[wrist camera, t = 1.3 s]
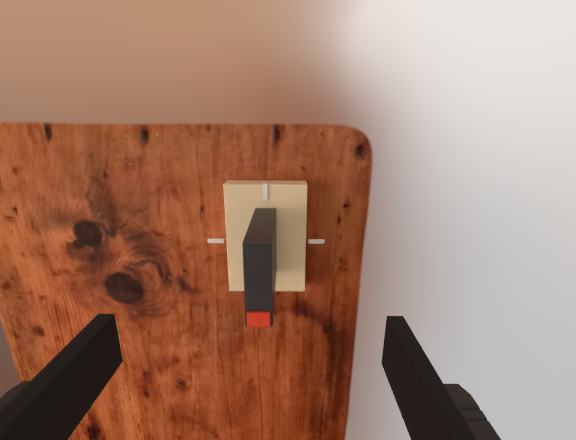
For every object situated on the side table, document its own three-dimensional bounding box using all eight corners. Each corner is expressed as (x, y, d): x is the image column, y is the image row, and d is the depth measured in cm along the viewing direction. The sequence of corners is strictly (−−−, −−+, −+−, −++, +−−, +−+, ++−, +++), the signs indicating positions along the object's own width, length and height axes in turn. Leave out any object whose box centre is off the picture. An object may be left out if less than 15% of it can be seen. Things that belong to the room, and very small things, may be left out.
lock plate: (209, 178, 28) (203, 183, 26) (324, 179, 28) (327, 184, 26) (216, 281, 31) (211, 292, 29) (319, 282, 31) (322, 293, 29)
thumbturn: (255, 207, 27) (241, 243, 19) (276, 208, 27) (271, 243, 19) (256, 272, 28) (244, 329, 20) (276, 272, 28) (272, 329, 20)
